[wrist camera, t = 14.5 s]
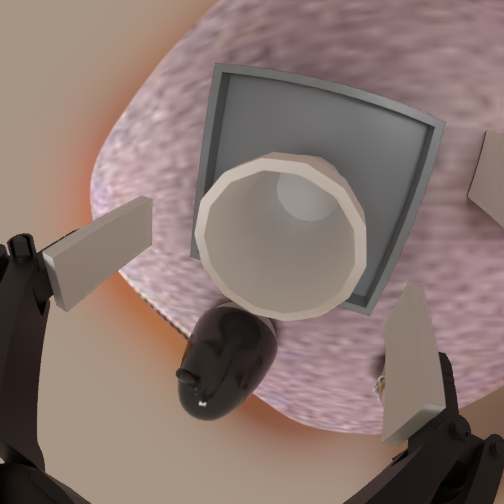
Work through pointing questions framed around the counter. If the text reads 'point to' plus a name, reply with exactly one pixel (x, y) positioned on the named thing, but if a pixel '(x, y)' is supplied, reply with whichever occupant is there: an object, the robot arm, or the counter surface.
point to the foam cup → (283, 236)
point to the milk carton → (490, 178)
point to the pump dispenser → (224, 361)
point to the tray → (326, 151)
